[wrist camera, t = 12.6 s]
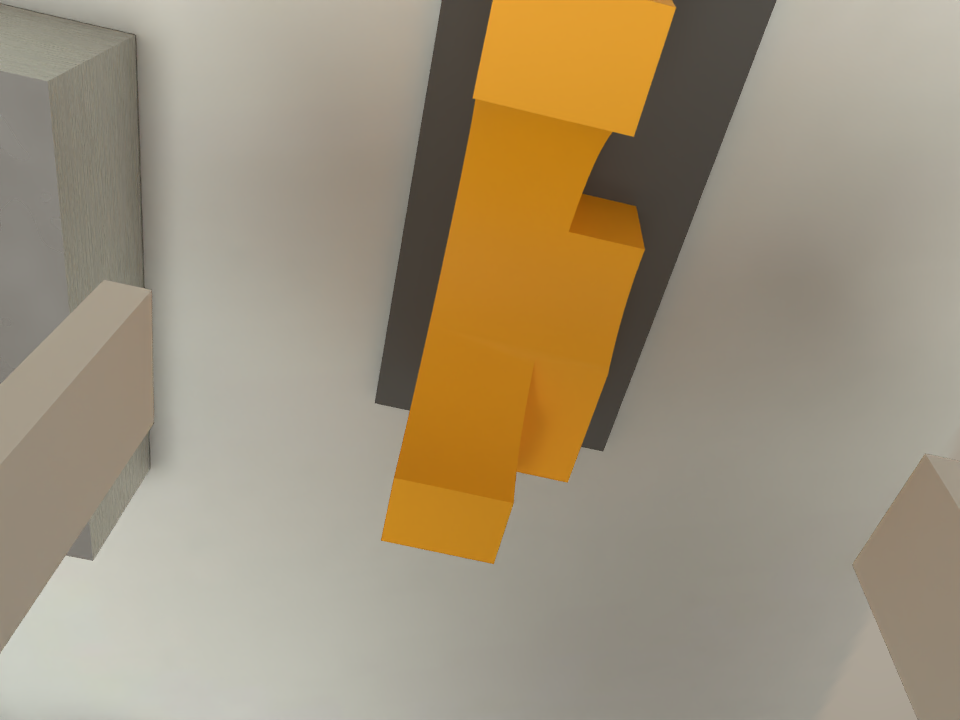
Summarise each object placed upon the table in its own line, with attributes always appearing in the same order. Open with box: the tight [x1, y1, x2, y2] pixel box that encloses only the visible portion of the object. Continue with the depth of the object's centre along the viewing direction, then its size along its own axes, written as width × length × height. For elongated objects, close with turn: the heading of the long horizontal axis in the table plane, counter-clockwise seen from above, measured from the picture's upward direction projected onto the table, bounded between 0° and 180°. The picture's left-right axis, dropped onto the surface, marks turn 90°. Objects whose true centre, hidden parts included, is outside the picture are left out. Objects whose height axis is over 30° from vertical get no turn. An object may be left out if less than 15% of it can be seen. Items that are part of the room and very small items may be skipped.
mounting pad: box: [375, 0, 776, 451], centre depth 21 cm, size 14×7×1 cm, turn 168°
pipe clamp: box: [381, 0, 676, 564], centre depth 18 cm, size 12×4×6 cm, turn 168°
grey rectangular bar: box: [0, 4, 150, 561], centre depth 21 cm, size 14×4×4 cm, turn 168°
